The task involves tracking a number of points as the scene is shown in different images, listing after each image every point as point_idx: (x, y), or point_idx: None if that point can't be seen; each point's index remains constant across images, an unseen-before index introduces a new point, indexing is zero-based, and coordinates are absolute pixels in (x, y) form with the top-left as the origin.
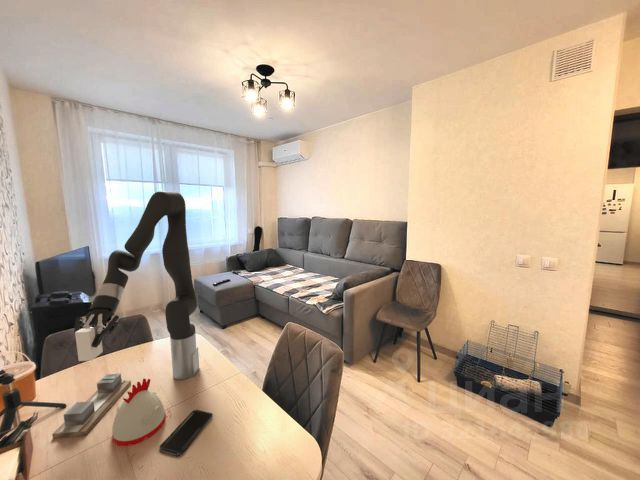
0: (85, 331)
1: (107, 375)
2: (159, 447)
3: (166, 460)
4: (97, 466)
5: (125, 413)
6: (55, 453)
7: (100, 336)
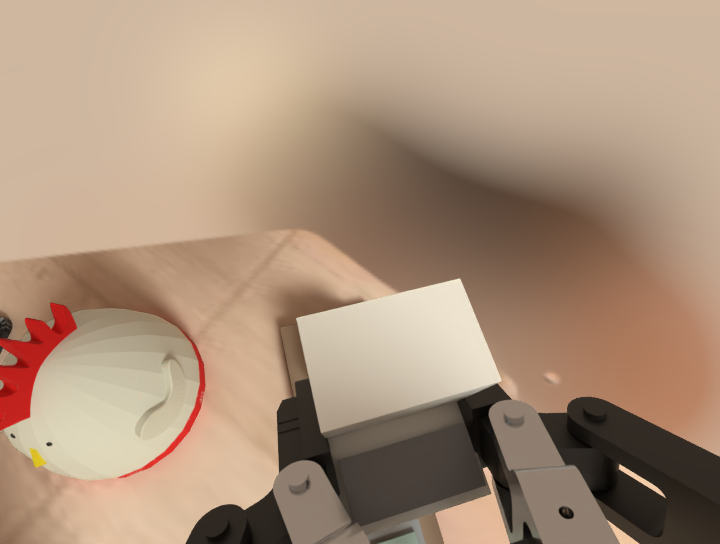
0: (349, 318)
1: None
2: (4, 320)
3: None
4: (164, 260)
5: (83, 312)
6: (311, 274)
7: (279, 465)
